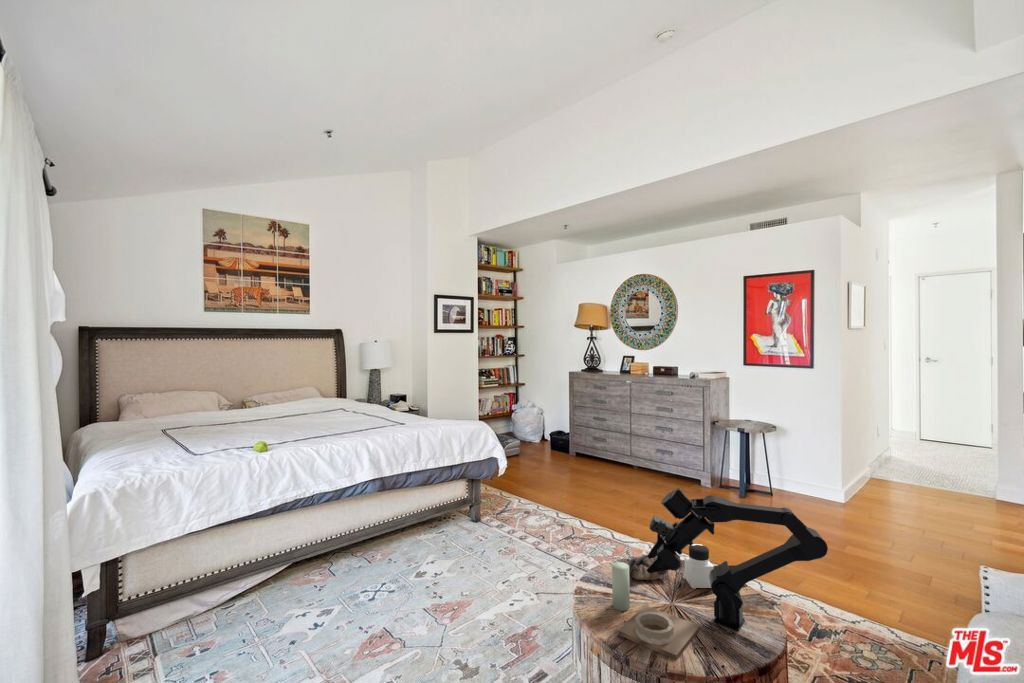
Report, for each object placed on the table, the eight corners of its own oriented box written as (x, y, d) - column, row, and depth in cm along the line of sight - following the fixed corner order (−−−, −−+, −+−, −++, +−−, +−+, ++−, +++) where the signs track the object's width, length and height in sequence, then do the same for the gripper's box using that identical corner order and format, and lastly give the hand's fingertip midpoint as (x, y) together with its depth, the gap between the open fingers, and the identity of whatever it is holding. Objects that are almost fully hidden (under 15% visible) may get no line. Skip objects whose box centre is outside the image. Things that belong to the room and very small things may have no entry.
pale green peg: (632, 605, 142) (632, 565, 142) (624, 613, 138) (624, 571, 138) (617, 600, 145) (617, 560, 145) (609, 607, 141) (608, 566, 141)
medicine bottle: (714, 589, 150) (714, 551, 151) (692, 589, 151) (691, 551, 151) (706, 578, 158) (705, 541, 158) (684, 578, 158) (683, 541, 158)
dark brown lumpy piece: (623, 579, 158) (648, 590, 150) (622, 558, 158) (647, 567, 150) (645, 569, 165) (670, 578, 157) (644, 548, 166) (669, 556, 158)
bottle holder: (699, 630, 129) (699, 614, 129) (676, 660, 117) (676, 643, 117) (644, 609, 140) (644, 594, 140) (618, 634, 128) (617, 619, 128)
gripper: (665, 498, 147) (629, 530, 150) (666, 520, 129) (625, 556, 132) (693, 526, 144) (656, 558, 148) (698, 552, 127) (655, 588, 130)
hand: (648, 564), depth 139 cm, fingers open, 9 cm apart
